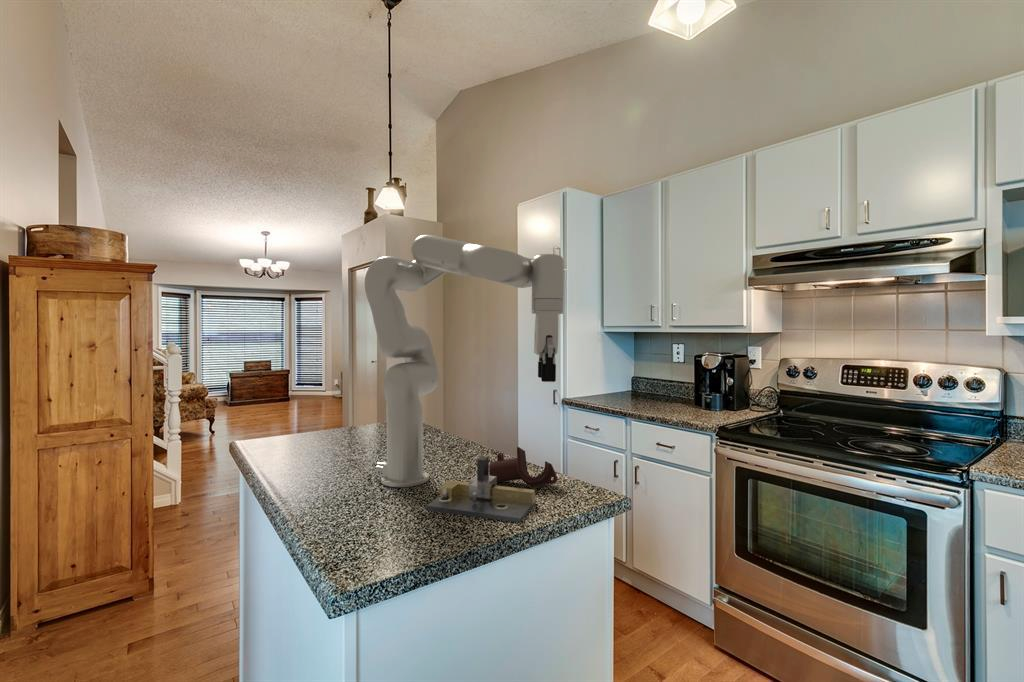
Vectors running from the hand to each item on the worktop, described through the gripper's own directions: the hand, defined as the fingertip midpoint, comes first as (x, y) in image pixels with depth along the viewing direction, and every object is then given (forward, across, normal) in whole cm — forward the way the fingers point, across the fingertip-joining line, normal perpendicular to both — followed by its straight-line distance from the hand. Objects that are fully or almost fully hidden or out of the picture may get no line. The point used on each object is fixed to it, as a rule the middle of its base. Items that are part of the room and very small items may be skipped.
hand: (546, 379), depth 112 cm
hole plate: (+29, +5, -15) cm, 33 cm away
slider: (+27, +2, -15) cm, 31 cm away
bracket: (+29, -12, -4) cm, 32 cm away
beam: (+28, +3, -14) cm, 31 cm away
